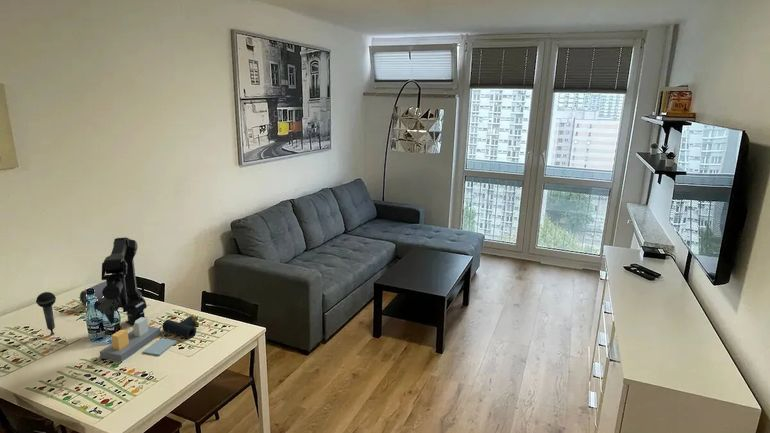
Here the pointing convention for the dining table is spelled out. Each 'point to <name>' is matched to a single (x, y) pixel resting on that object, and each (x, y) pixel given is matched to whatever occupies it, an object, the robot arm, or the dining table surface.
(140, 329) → the grey plug
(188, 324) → the pipe connector
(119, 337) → the tan rectangular block
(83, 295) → the bluetooth speaker
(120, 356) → the header
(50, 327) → the microphone
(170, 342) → the slate mat
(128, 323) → the robot arm
